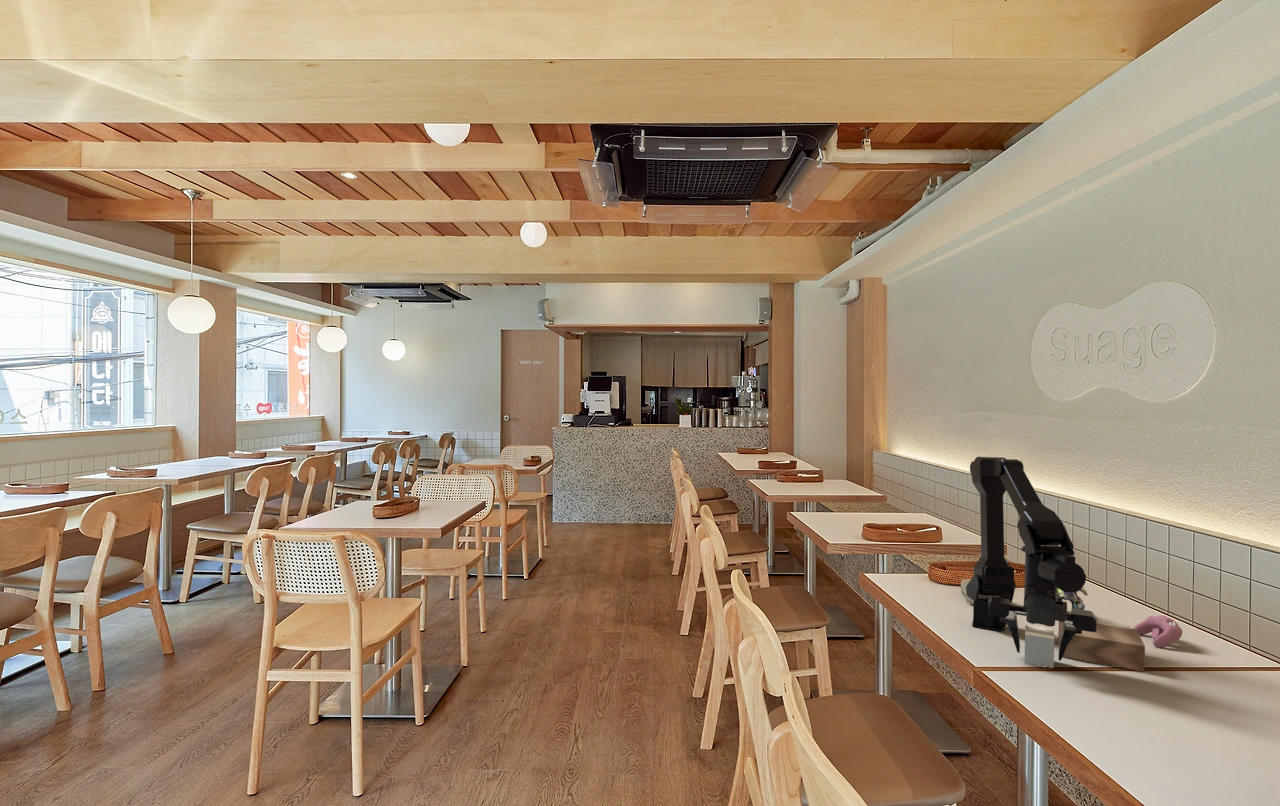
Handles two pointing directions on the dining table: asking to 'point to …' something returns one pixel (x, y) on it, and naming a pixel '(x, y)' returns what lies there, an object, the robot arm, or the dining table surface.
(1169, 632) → the pink creature figurine
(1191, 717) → the dining table surface
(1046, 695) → the dining table surface
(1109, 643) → the walnut step
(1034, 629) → the grey block
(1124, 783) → the dining table surface
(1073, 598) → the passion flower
